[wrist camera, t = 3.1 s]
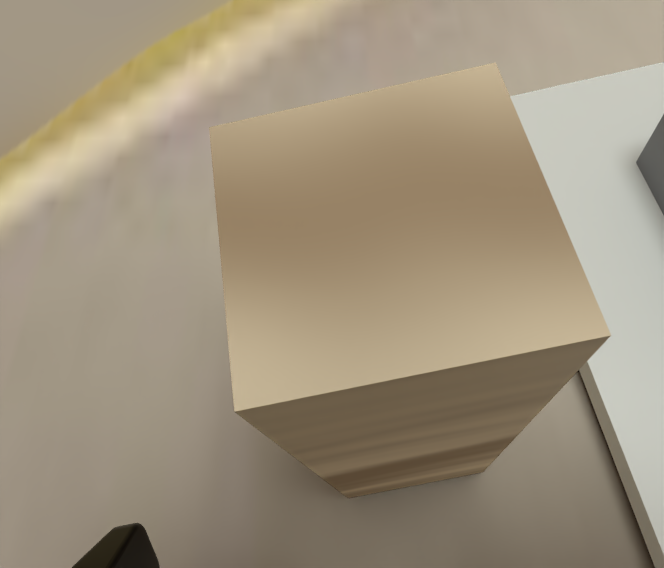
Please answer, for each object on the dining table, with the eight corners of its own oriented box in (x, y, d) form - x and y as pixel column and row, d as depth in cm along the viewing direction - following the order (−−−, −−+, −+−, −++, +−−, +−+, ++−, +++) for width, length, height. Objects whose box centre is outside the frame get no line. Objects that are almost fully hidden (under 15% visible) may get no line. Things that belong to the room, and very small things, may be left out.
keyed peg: (482, 471, 18) (611, 334, 6) (348, 498, 18) (234, 411, 7) (440, 319, 20) (476, 19, 9) (321, 343, 21) (205, 81, 9)
